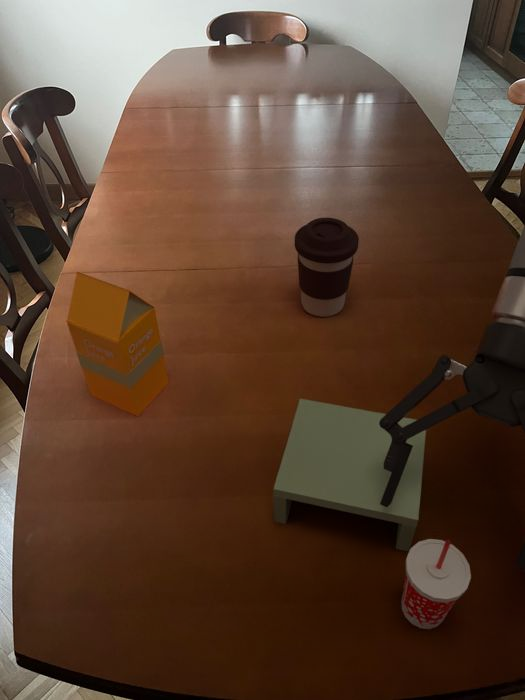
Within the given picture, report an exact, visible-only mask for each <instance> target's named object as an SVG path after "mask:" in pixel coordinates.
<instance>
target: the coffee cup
mask: <svg viewBox="0 0 525 700" xmlns="http://www.w3.org/2000/svg"><path fill="white" fill-rule="evenodd" d="M359 240H360V238H359V235H358V232H357V231H356V230H355V229H353V228H352V227H351V226H349V225H348V224H347V223H345V222H344V221H343V220H341V219H339V218H335V217H318V218H315V219H312V220H311V221H309V222H308V223H306V224H304V225H303V226H301V227H300V228H298V230H297V231H296V232H295V235H294V249H295V251H296V252H297V271H298V272H297V273H298V285H299V289H300V301H301V306H302V308H303V310H305V312H307V313H308V314H310V315H312V316H315V317H321V318H327V317H332V316H335V315H337V314H339V313H340V312H341V311H342V310H343V308H344V306H345V301H346V295H347V291H349V290H348V289H349V287H350V281H351V276H352V271H353V265H354V256H355V255H356V253H357V252H358V249H359V244H360V243H359V242H360V241H359Z"/></svg>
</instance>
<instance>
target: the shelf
mask: <svg viewBox="0 0 525 700" xmlns="http://www.w3.org/2000/svg"><path fill="white" fill-rule="evenodd" d="M386 414H387V413H382V412H378V411H377V412H376V411H372V410H365V409H360V408H356V407H355V408H354V407H349V406H343V405H338V404H332V403H327V402H321V401H317V400H310V399H305V398H299V401H298V404H297V407H296V410H295V414H294V418H293V420H292V424H291V428H290V430H289V434H288V438H287V441H286V444H285V448H284V452H283V455H282V458H281V462H280V464H279V469H278V472H277V475H276V479H275V482H274V485H273V490H272V491H273V522H276V523H280V524H284V525H285V524H286V525H287V521H288V518H289V516H290V515H289V514H290V511H291V506H292V503H293V502H298V503H299V502H300V503H303V504H309V505H313V506H317V507H323V508H327V509H331V510H337V511H339V512H340V511H341V512H345V513H351V514H355V515H359V516H363V517H368V518H373V519H377V520H381V521H387V522H391V523H395V524H398V525H397V533H396V543H395V550H399V551H405V552H408V553H409V551H410V549H411V545H412V542H413V539H414V535H415V533H416V530H417V526H418V523H419V518H420V517H419V516H420V504H421V493H422V484H423V483H422V481H423V471H424V469H423V468H424V459H425V448H426V447H425V446H426V436H427V429H426V430H424V431H422V432H421V433H419V434H417V435H415V436H413V437H411V438H409V439H407V441H406V443H408V444H410V445H413V447H412V450H411V452H410V455H409V458H408V460H407V463H406V466H405V468H404V471H403V474H402V476H401V479H400V481H399V484H398V487H397V489H396V492H395V495H394V497H393V500H392V503H391V504H390V505H389V506H388V507H385V506H382V505H380V502H381V500H382V497H383V494H384V492H385V489H386V486H387V484H388V481H389V478H390V476H391V473H392V472H390V471H388V470H385V469H384V464H383V463H384V461H385V458H386V455H387V453H388V450H389V447H390V445H391V442H392V438H391V435H390V434H389V433H388V432H387V431H386V430H384V429H383V428H381V427H380V425H379V422H380V420H381V419H382V418H383V417H384V416H385V415H386ZM416 420H417V419H415V418H409V417H404V418H402V419H401V420H400V421H399V422H398V424H399V425H400V426H401V427H402V428H403V427H405V426H407V425H408V424H410V423H412V422H414V421H416Z"/></svg>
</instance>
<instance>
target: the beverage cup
mask: <svg viewBox="0 0 525 700" xmlns="http://www.w3.org/2000/svg"><path fill="white" fill-rule="evenodd" d="M451 541H452V540H450V539H446V540H445V541H444V540H442V539H434V538H427V539H424V540H419V541H418V542H417V543H415V544H414V545H413V546H412V547H410V549H409V552H408V553H407V556H406V559H405V578H404V583H403V590H402V595H401V601H400V602H401V611H402V613H403V615H404V617H405V618H406V620H407V621H409V623H411V625H413V626H415V627H417V628H418V629H424V630H432V629H434V628H437V627H438V626H440V624H442V623H443V621H444V620H445V618H446V617H447V616H448V614H449V613H450V611H451V609H452V608H453V606H454V604H455V603H456V601H457V600H459V598H461V597H462V596H463V595H464V594H465V593H466V591H467V590H468V587H469V585H470V582H471V579H472V574H471V567H470V563H469V562H468V560H467V559H466V557H465V555H464V554H463V552H461V551H460V550H459V548H457V547H456V546H454V544H452V542H451Z"/></svg>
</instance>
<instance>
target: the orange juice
mask: <svg viewBox="0 0 525 700" xmlns="http://www.w3.org/2000/svg"><path fill="white" fill-rule="evenodd" d="M65 322H66V324H67V327H68V330H69V333H70V337H71V339H72V342H73V345H74V349H75V351H76V356H77V359H78V361H79V364H80V367H81V370H82V373H83V376H84V378H85V382H86V384H87V388H88V391H89V393H90V394H89V395H90V396H91V397H93V398H96V399H98V400H100V401H102V402H105V403H107V404H109V405H111V406H114V407H115V408H118V409H120V410H122V411H124V412H127V413H128V414H131V415H133V416H135V417H137V418H139V416H140V415H141V414H142V413H143V412H144V411H145V410H146V409H147V407H149V405H150V404H151V403H152V402H153V401H154V400H155V399H156V398H157V397H158V395H159V394H161V392H162V391H163V390H164V388H166V387H167V386H168V385H169V383H170V382H169V376H168V371H167V367H166V366H167V365H166V361H165V356H164V354H165V353H164V349H163V343H162V340H161V335H160V330H159V325H158V318H157V314H156V308H155V307H154V306H153V305H151V304H150V303H148V302H147V301H146V300H145V299H142V298H141V297H140V296H138V295H137V294H135V293H134V292H132V291H131V290H129V289H127V288H124V287H121V286H118V285H116V284H113V283H110V282H108V281H105V280H102V279H98V278H96V277H93V276H92V275H91V276H90V275H88V274H85V273H82V272H80V271H76V274H75V279H74V284H73V289H72V293H71V299H70V305H69V309H68V313H67V319H66V320H65Z"/></svg>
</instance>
